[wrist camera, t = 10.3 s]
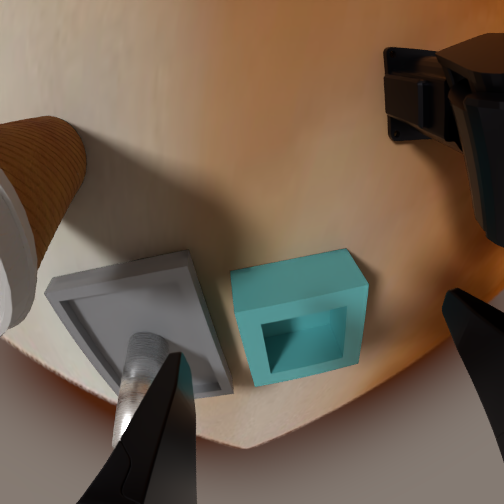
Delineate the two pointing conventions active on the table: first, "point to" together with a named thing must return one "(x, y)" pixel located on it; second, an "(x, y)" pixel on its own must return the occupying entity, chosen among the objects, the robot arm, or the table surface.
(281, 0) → the table surface
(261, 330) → the teal square open box
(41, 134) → the disposable coffee cup
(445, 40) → the table surface
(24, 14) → the table surface
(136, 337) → the steel pin
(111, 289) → the charcoal tray
